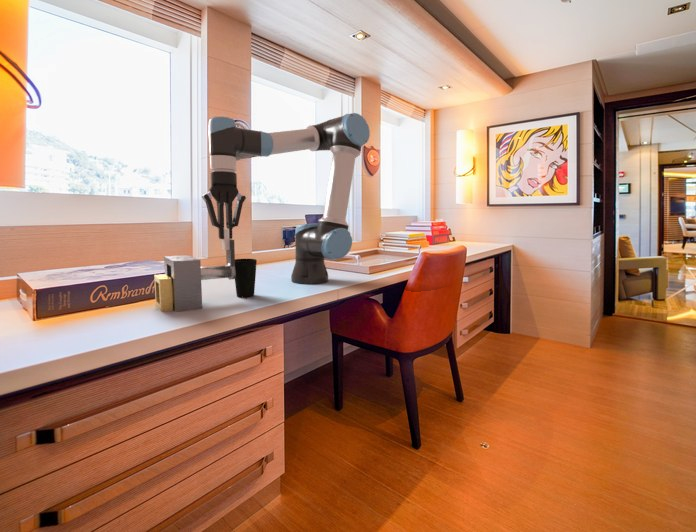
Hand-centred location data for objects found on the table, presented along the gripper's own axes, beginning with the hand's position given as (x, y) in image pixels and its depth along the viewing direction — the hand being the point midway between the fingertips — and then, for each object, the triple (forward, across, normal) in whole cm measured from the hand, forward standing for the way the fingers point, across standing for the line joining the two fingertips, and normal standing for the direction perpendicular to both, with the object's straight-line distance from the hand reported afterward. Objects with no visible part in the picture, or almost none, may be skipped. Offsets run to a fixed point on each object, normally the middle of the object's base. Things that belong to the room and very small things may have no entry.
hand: (225, 249), depth 116 cm
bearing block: (+16, +13, 0) cm, 21 cm away
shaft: (+10, +6, 0) cm, 11 cm away
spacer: (+16, +18, 0) cm, 24 cm away
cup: (+16, -7, -2) cm, 18 cm away
